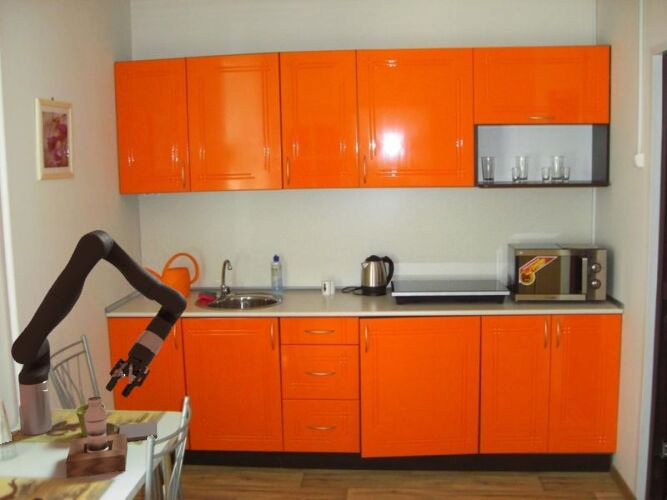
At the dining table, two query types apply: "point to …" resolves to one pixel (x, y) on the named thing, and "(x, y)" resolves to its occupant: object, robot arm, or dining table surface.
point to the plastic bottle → (96, 426)
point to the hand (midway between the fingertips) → (115, 393)
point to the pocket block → (97, 457)
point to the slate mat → (139, 430)
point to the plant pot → (80, 414)
